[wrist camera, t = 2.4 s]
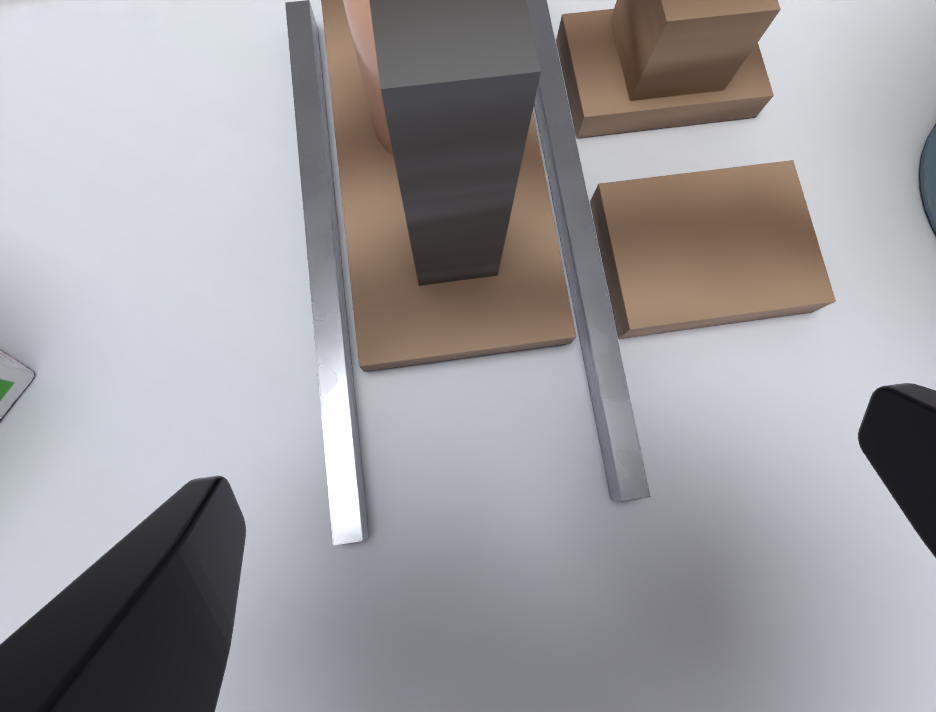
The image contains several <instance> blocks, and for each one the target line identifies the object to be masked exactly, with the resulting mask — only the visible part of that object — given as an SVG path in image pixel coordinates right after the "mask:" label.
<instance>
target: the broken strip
mask: <svg viewBox="0 0 936 712" xmlns="http://www.w3.org/2000/svg"><path fill="white" fill-rule="evenodd" d="M613 11H614V9H609V10H599V11H589V12H580V13H570V14H562V18H561V22H560V26H559V31H558V35H557V39H556V41H557V46H558V51H559V55H560V60H561V65H562V70H563V75H564V79H565V84H566V89H567V94H568V98H569V103H570V108H571V113H572V117H573V122H574V127H575V132H576V136H577V138H583V137H591V136H600V135H608V134H617V133H626V132H634V131H643V130H651V129H660V128H668V127H677V126H686V125H694V124H703V123H711V122H720V121H728V120H737V119H746V118H754V117H756V116H757V115H758V114H759V112H760V111H761V110H762V109H763V108H764V106H765V105H766V104H767V103H768V102H769V101H770V99H771V98H772V97H773V96H774V95H773V92H772V88H771V85H770V82H769V79H768V75H767V72H766V69H765V65H764V62H763V59H762V55H761V52H760V49H759V45H758V43H757V44H756V45H755V47H754V48H753V50H752V51H751V53H750V54H749V55H748V57H747V58H746V60H745V61H744V63H743V64H742V65H741V67H740V68H739V70H738V71H737V73H736V74H735V76H734V77H733V78H732V80H731V81H730V83H729V84H728V86H727V87H726V88H725V90H724V91H715V92H706V93H698V94H689V95H680V96H671V97H662V98H654V99H645V100H636V101H630V100H629V95H628V91H627V87H626V83H625V79H624V74H623V70H622V66H621V62H620V57H619V53H618V49H617V45H616V41H615V36H614V32H613V28H612V24H611V16H612V14H613ZM590 203H591V208H592V213H593V217H594V222H595V227H596V232H597V237H598V241H599V246H600V251H601V256H602V260H603V265H604V270H605V275H606V279H607V284H608V289H609V294H610V299H611V303H612V308H613V313H614V318H615V322H616V327H617V332H618V337H619V339H621V338H628V337H636V336H643V335H650V334H658V333H665V332H672V331H679V330H687V329H694V328H701V327H709V326H716V325H723V324H731V323H738V322H745V321H752V320H760V319H767V318H774V317H782V316H789V315H796V314H804V313H811V312H814V311H816V310H818V309H820V308H823V307H825V306H827V305H829V304H831V303H834V302H836V301H835V297H834V294H833V291H832V287H831V284H830V281H829V277H828V274H827V271H826V267H825V264H824V261H823V258H822V254H821V251H820V248H819V244H818V241H817V238H816V234H815V231H814V228H813V224H812V221H811V218H810V214H809V211H808V208H807V204H806V201H805V198H804V195H803V191H802V188H801V185H800V181H799V178H798V175H797V171H796V168H795V165H794V161H793V160H791V161H783V162H774V163H766V164H758V165H750V166H741V167H733V168H725V169H717V170H709V171H700V172H692V173H684V174H676V175H667V176H659V177H651V178H643V179H634V180H626V181H618V182H610V183H601V184H598V186H597V188H596V190H595V192H594V194H593V196H592V199H591V201H590Z"/></svg>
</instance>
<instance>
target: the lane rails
mask: <svg viewBox="0 0 936 712" xmlns="http://www.w3.org/2000/svg"><path fill="white" fill-rule="evenodd" d="M285 4H286V15H287V27H288V38H289V49H290V61H291V72H292V84H293V95H294V107H295V118H296V130H297V141H298V152H299V164H300V175H301V187H302V198H303V210H304V221H305V233H306V244H307V255H308V267H309V278H310V290H311V301H312V313H313V324H314V335H315V347H316V358H317V370H318V381H319V393H320V404H321V416H322V427H323V438H324V450H325V461H326V473H327V484H328V496H329V507H330V518H331V530H332V541H333V545H339V544H346V543H352V542H359V541H363V540H365V539H366V538H367V537H369V531H368V522H367V512H366V502H365V492H364V482H363V472H362V462H361V452H360V443H359V433H358V423H357V413H356V403H355V393H354V383H353V373H352V363H351V354H350V344H349V334H348V324H347V314H346V304H345V294H344V284H343V275H342V265H341V255H340V245H339V235H338V225H337V215H336V205H335V195H334V186H333V176H332V166H331V156H330V146H329V136H328V126H327V116H326V107H325V97H324V87H323V77H322V67H321V57H320V47H319V37H318V27H317V24H316V21H315V17H314V14H313V11H312V8H311V4H310V1H309V0H307V1H297V2H287V3H285ZM527 5H528V10H529V15H530V20H531V25H532V30H533V35H534V40H535V45H536V50H537V55H538V60H539V65H540V70H541V73H540V78H539V83H538V87H537V92H536V97H535V102H534V105H535V110H536V115H537V120H538V126H539V131H540V136H541V141H542V146H543V151H544V157H545V162H546V167H547V172H548V177H549V182H550V187H551V193H552V198H553V203H554V208H555V213H556V218H557V224H558V229H559V234H560V239H561V244H562V249H563V254H564V260H565V265H566V270H567V275H568V280H569V285H570V290H571V296H572V301H573V306H574V311H575V316H576V321H577V327H578V332H579V337H580V342H581V347H582V352H583V357H584V363H585V368H586V373H587V378H588V383H589V388H590V394H591V399H592V404H593V409H594V414H595V419H596V424H597V430H598V435H599V440H600V445H601V450H602V455H603V461H604V466H605V471H606V476H607V481H608V486H609V491H610V497H611V500H618V501H627V500H633V499H640V498H646V497H650V492H649V488H648V483H647V478H646V473H645V469H644V464H643V459H642V454H641V449H640V445H639V440H638V435H637V430H636V426H635V421H634V416H633V411H632V406H631V402H630V397H629V392H628V387H627V383H626V378H625V373H624V368H623V363H622V359H621V354H620V349H619V344H618V340H617V335H616V330H615V325H614V320H613V316H612V311H611V306H610V301H609V296H608V292H607V287H606V282H605V277H604V273H603V268H602V263H601V258H600V253H599V249H598V244H597V239H596V234H595V230H594V225H593V220H592V215H591V210H590V206H589V201H588V196H587V191H586V187H585V182H584V177H583V172H582V167H581V163H580V158H579V153H578V148H577V144H576V139H575V134H574V129H573V124H572V120H571V115H570V110H569V105H568V101H567V96H566V91H565V86H564V81H563V77H562V72H561V67H560V62H559V57H558V53H557V48H556V43H555V38H554V34H553V29H552V24H551V19H550V14H549V10H548V5H547V0H527Z"/></svg>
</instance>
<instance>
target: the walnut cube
mask: <svg viewBox="0 0 936 712" xmlns="http://www.w3.org/2000/svg"><path fill="white" fill-rule="evenodd" d="M779 11H780V6H779V3H778V0H617V2H616V5H615V8H614V11H613V14H612V16H611V24H612V28H613V32H614V36H615V41H616V45H617V49H618V53H619V57H620V62H621V66H622V70H623V74H624V79H625V83H626V87H627V91H628V95H629V100H630V101H636V100H645V99H654V98H662V97H671V96H680V95H689V94H698V93H706V92H715V91H724V90H725V88H726V87H727V86H728V84H729V83H730V81H731V80H732V78H733V77H734V76H735V74H736V73H737V71H738V70H739V68H740V67H741V65H742V64H743V63H744V61H745V60H746V58H747V57H748V55H749V54H750V53H751V51H752V50H753V48H754V47H755V45H756V44H757V43H758V41H759V40H760V38H761V37H762V35H763V34H764V32H765V31H766V30H767V28H768V27H769V25H770V24H771V22H772V21H773V20H774V18H775V17H776V15H777V14H778V12H779Z"/></svg>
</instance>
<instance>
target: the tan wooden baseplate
mask: <svg viewBox="0 0 936 712" xmlns="http://www.w3.org/2000/svg"><path fill="white" fill-rule="evenodd" d="M369 2H370V10H371V18H372V26H373V33H374V41H375V49H376V57H377V65H378V73H379V81H380V89H381V94H382V99H383V104H384V109H385V115H386V120H387V125H388V130H389V135H390V140H391V146H392V151H393V156H394V157H393V156H392V155H391V154H390V153H388V151H387V150H386V149H385V148H384V147H383V146H382V145H381V143H380V142H379V140H378V138H377V136H376V134H375V132H374V129H373V125H372V121H371V117H370V113H369V108H368V104H367V100H366V96H365V91H364V87H363V83H362V79H361V74H360V70H359V66H358V62H357V57H356V53H355V49H354V45H353V41H352V36H351V32H350V28H349V24H348V19H347V15H346V11H345V7H344V2H343V0H321V3H322V12H323V22H324V32H325V41H326V51H327V60H328V70H329V80H330V89H331V99H332V108H333V118H334V128H335V137H336V147H337V156H338V166H339V176H340V185H341V195H342V204H343V214H344V224H345V233H346V243H347V252H348V262H349V272H350V281H351V291H352V300H353V310H354V320H355V329H356V339H357V348H358V358H359V366H360V368H361V369H362V370H363V371H371V370H379V369H386V368H393V367H401V366H408V365H415V364H423V363H430V362H437V361H445V360H452V359H459V358H466V357H474V356H481V355H488V354H496V353H503V352H510V351H518V350H525V349H532V348H540V347H547V346H554V345H562V344H569V343H571V342H572V341H573V340H574V339H575V338H576V333H575V328H574V323H573V318H572V313H571V307H570V302H569V297H568V292H567V287H566V282H565V276H564V271H563V266H562V261H561V256H560V250H559V245H558V240H557V235H556V230H555V224H554V219H553V214H552V209H551V204H550V199H549V193H548V188H547V183H546V178H545V173H544V167H543V162H542V157H541V152H540V147H539V141H538V136H537V131H536V126H535V121H534V116H533V106H534V102H535V97H536V92H537V87H538V83H539V78H540V73H541V70H540V65H539V60H538V55H537V50H536V45H535V40H534V35H533V30H532V25H531V20H530V15H529V10H528V5H527V0H369Z"/></svg>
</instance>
